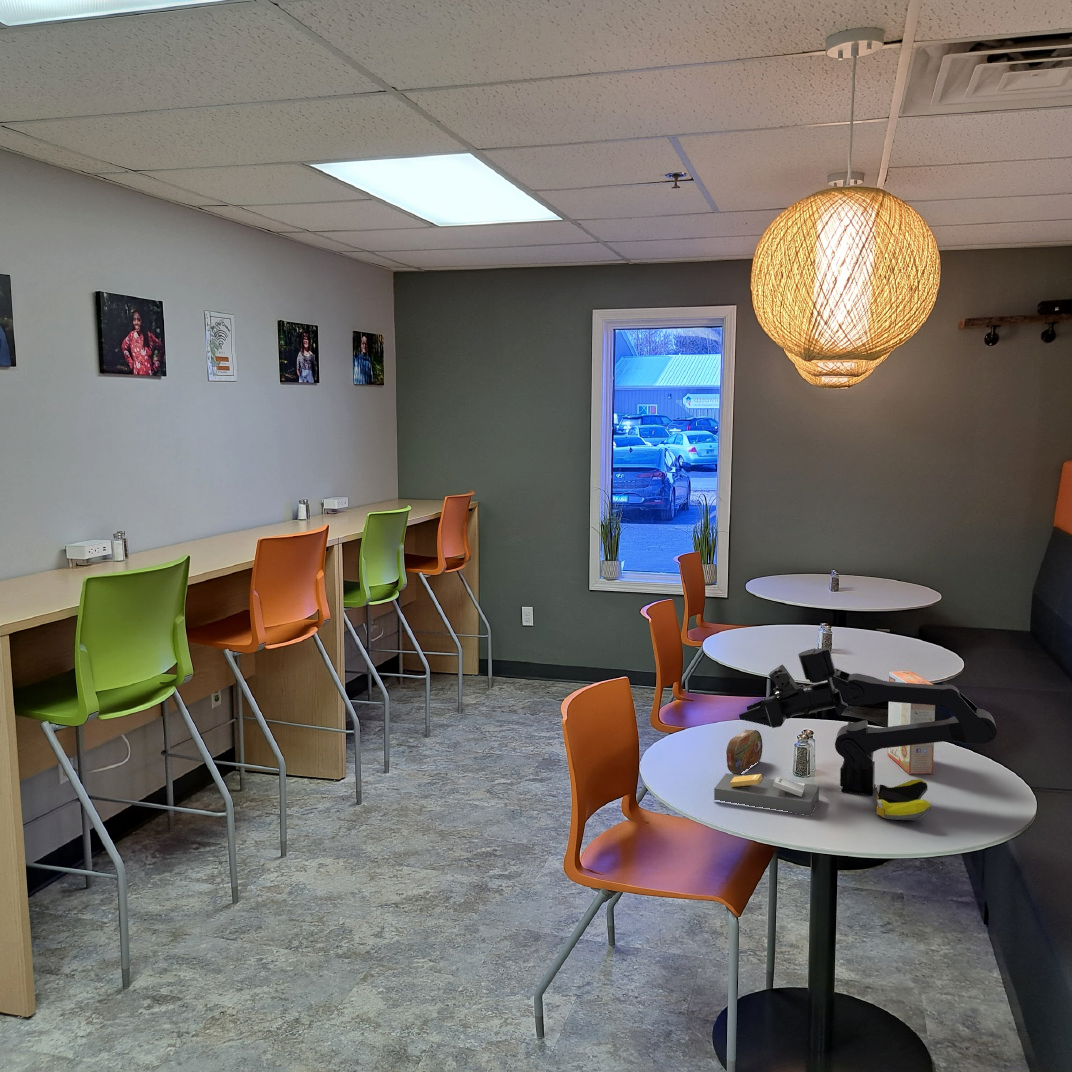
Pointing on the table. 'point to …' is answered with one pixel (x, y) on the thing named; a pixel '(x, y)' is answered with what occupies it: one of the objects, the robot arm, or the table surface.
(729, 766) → the tin
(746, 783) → the block
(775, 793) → the rocker switch panel
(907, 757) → the cracker box
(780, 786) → the grey rocker
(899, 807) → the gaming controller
